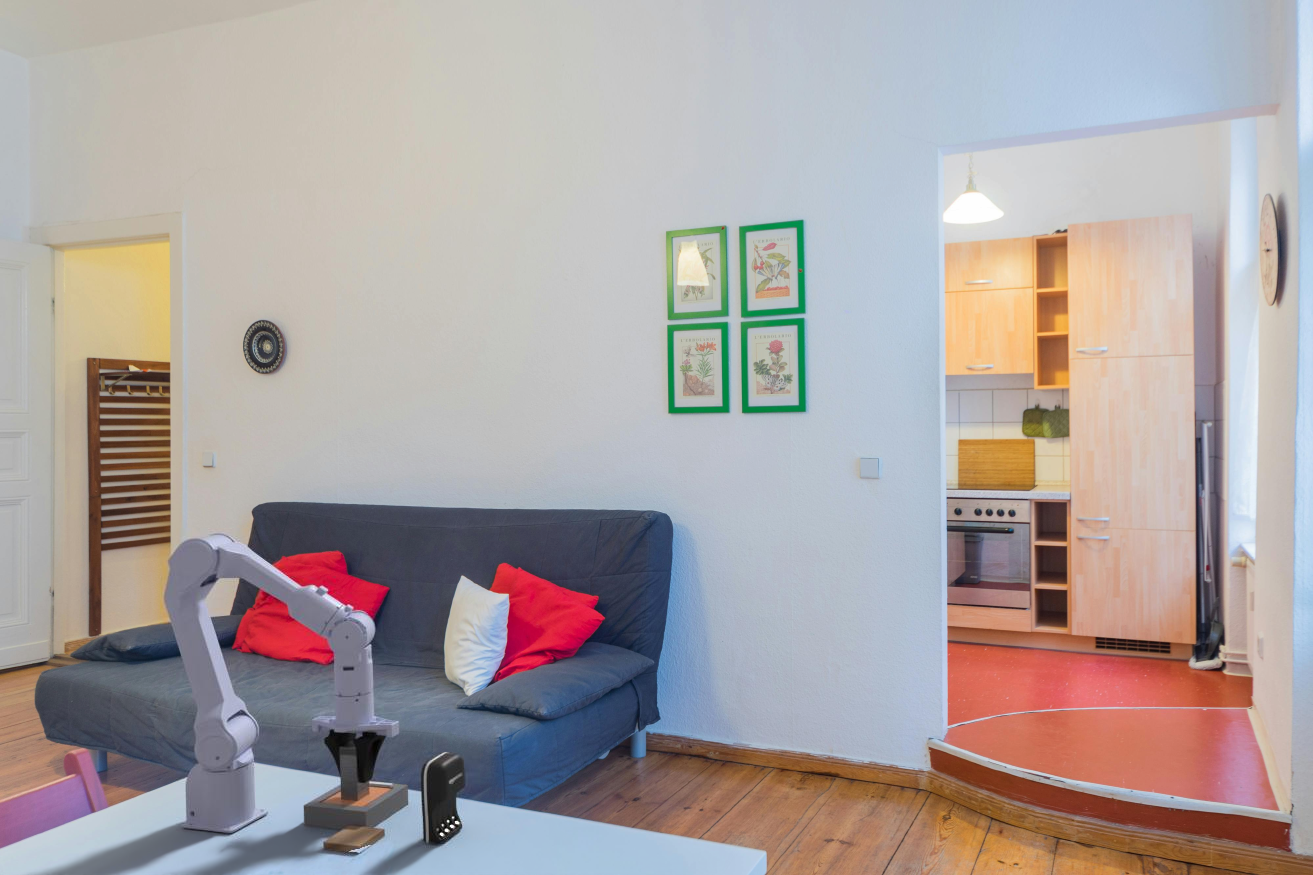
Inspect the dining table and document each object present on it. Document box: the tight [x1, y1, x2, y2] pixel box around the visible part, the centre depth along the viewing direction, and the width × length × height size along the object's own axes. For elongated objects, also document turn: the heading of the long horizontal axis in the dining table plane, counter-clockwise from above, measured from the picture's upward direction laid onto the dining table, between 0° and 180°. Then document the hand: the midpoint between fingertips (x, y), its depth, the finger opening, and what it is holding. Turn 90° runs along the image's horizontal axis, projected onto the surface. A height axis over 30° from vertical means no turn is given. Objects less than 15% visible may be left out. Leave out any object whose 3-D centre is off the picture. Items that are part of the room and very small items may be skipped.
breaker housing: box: [303, 780, 409, 830], centre depth 142 cm, size 11×11×3 cm
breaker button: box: [321, 787, 391, 807], centre depth 142 cm, size 7×7×2 cm
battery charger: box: [420, 751, 466, 845], centre depth 132 cm, size 7×4×11 cm, turn 161°
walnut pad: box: [322, 825, 386, 853], centre depth 131 cm, size 6×6×1 cm
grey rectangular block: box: [339, 741, 370, 801], centre depth 141 cm, size 3×3×8 cm
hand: (356, 779), depth 142 cm, fingers closed on grey rectangular block, 3 cm apart
